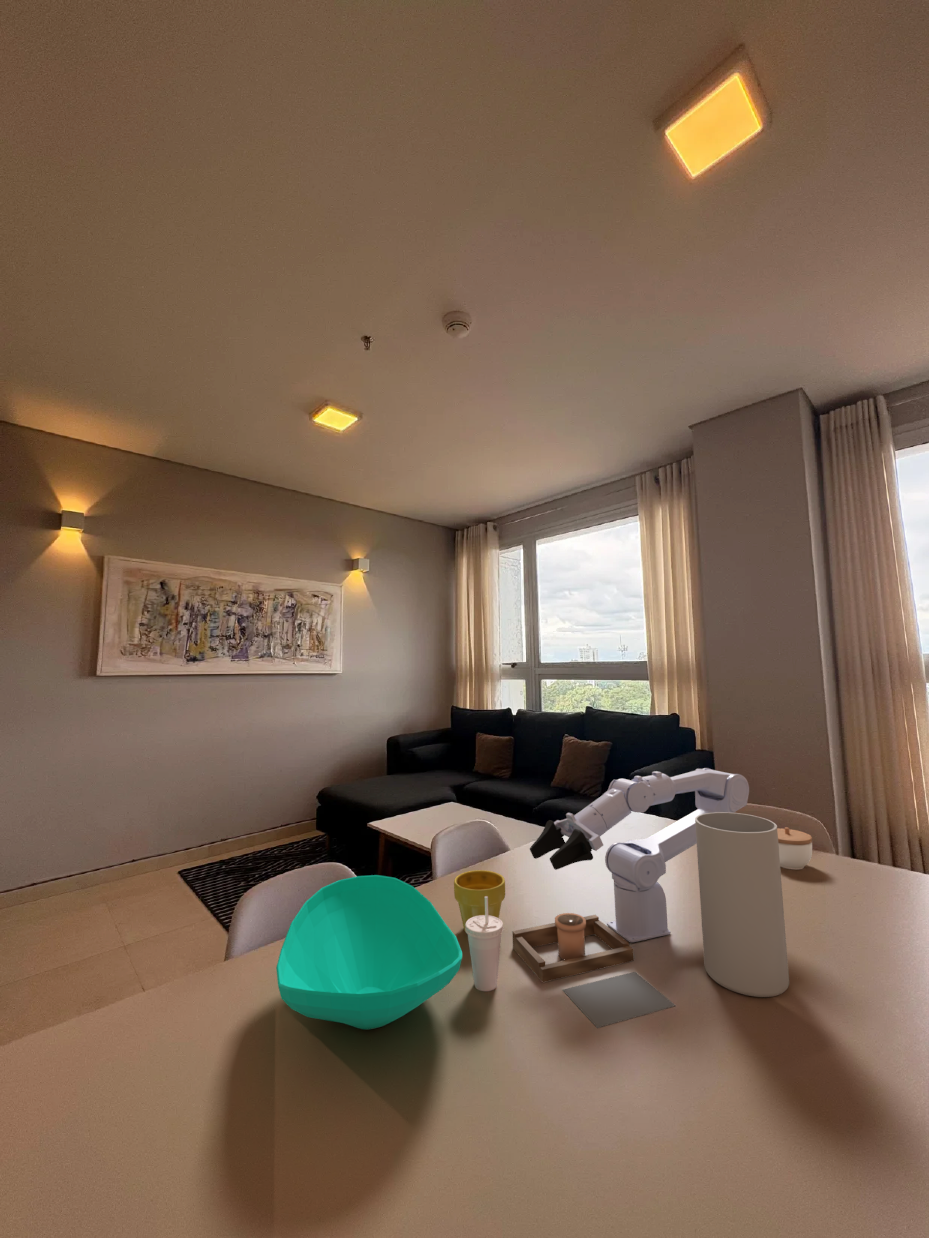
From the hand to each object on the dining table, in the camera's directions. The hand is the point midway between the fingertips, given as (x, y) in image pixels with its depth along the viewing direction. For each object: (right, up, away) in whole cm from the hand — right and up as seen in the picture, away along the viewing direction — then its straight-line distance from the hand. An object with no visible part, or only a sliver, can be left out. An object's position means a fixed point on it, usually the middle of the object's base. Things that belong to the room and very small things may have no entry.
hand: (542, 858), depth 99 cm
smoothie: (-11, -16, -11) cm, 22 cm away
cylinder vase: (+32, -15, -10) cm, 37 cm away
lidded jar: (+69, -19, +38) cm, 82 cm away
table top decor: (-29, -16, -17) cm, 37 cm away
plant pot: (-11, -18, +8) cm, 23 cm away
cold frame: (+5, -16, -2) cm, 17 cm away
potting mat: (+10, -15, -15) cm, 23 cm away
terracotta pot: (+5, -17, -2) cm, 17 cm away
